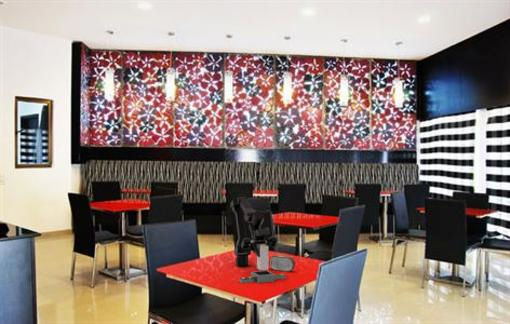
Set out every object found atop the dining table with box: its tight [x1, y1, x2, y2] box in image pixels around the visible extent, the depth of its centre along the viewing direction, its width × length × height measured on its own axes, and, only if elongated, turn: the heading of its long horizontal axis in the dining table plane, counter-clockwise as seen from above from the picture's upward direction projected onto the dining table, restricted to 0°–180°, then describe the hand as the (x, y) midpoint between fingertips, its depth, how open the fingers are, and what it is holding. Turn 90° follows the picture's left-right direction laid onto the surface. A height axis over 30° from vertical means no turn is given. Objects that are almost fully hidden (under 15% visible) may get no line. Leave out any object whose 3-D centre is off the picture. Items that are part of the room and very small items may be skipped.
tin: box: [268, 254, 296, 273], centre depth 247 cm, size 15×3×8 cm, turn 65°
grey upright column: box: [256, 244, 269, 271], centre depth 228 cm, size 4×4×13 cm
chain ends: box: [238, 269, 287, 284], centre depth 228 cm, size 9×24×4 cm, turn 110°
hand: (263, 256), depth 227 cm, fingers closed on grey upright column, 4 cm apart
